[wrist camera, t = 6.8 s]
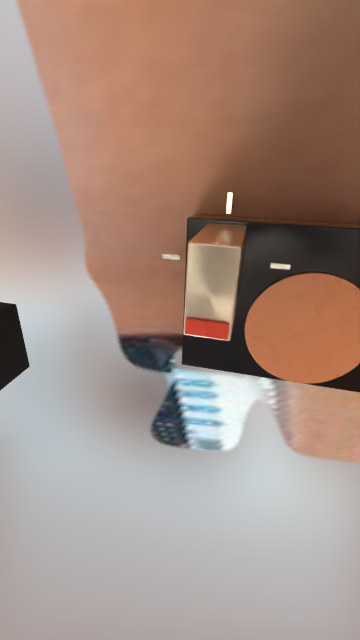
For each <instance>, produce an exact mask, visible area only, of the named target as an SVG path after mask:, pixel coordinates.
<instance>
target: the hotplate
mask: <svg viewBox="0 0 360 640" xmlns="http://www.w3.org/2000/svg"><path fill="white" fill-rule="evenodd" d="M232 198H233V193H229V192H228V195H227V206H226V214H231V209H232ZM208 223H220V224H234V225H246V226H247V232H246V240H245V248H244V255H243V263H242V271H241V279H240V286H239V294H238V300H237V306H236V311H235V317H234V323H233V328H232V334H231V339H230V341H225V340H218V339H212V338H205V337H198V336H191V335H184V333H183V346H182V364H183V365H189V366H195V367H202V368H208V369H215V370H221V371H227V372H234V373H240V374H246V375H253V376H259V377H265V378H272V379H278V380H283V379H280V378H278V377H276V376H274V375H272V374H270V373H269V372H267V371H266V370H265V369H263V368H262V367H261V366H260V365H259V364H258V363H257V362H256V361H255V359H254V358H253V357H252V355H251V353H250V351H249V349H248V346H247V343H246V339H245V322H246V318H247V314H248V312H249V309H250V307H251V306H252V304H253V302H254V301H255V300H256V298H257V297H258V296H259V295H260V294H261V293H262V292H263V291H264V290H265V289H266V288H267V287H269V286H270V285H272V284H273V283H275V282H277V281H279V280H281V279H283V278H285V277H288V276H291V275H295V274H300V273H307V272H321V273H328V274H332V275H336V276H339V277H341V278H344V279H346V280H348V281H349V282H351V283H353V284H354V285H356V286H357V287H358V288H359V289H360V224H350V223H333V222H317V221H300V220H284V219H267V218H250V217H234V216H217V215H201V214H194V215H192V216H190V217H189V218H188V220H187V245H186V271H187V251H188V242H189V241H190V240H191V239H192V238H193V237H194V236H195V235H197V234H198V233H199V232H200V231H201V230H202V229H203V228H204V227H205V226H206V225H207V224H208ZM163 258H165V259H176V260H180V255H175V254H164V253H163ZM186 271H185V291H186ZM184 311H185V296H184ZM183 331H184V321H183ZM284 381H286V380H284ZM304 384H310V385H316V386H323V387H329V388H335V389H342V390H348V391H354V392H360V363H359V364H358V365H357V366H356V367H355V368H354V369H352V370H351V371H349V372H348V373H346V374H344V375H342V376H340V377H338V378H335V379H332V380H329V381H325V382H320V383H304Z"/></svg>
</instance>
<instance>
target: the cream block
mask: <svg viewBox="0 0 360 640" xmlns="http://www.w3.org/2000/svg"><path fill="white" fill-rule="evenodd" d="M246 232H247V226H246V225H234V224H220V223H208V224H207V225H206V226H205V227H204V228H203V229H202V230H201V231H200V232H199V233H198V234H197V235H195V236H194V237H193V238H192V239H191V240H190V241H189V242H188V251H187V271H186V291H185V311H184V331H183V333H184V335H191V336H198V337H205V338H212V339H218V340H225V341H230V339H231V334H232V328H233V323H234V317H235V311H236V306H237V300H238V294H239V286H240V279H241V271H242V263H243V255H244V248H245V240H246Z"/></svg>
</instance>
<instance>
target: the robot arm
mask: <svg viewBox="0 0 360 640" xmlns="http://www.w3.org/2000/svg"><path fill="white" fill-rule="evenodd" d="M28 367H29V362H28V357H27V352H26V348H25V344H24V339H23V334H22V330H21V325H20V321H19V316H18V311H17V307H16V305H15V304H9V303H2V302H0V390H1V389H3V388H4V387H5V386H6V385H7V384H9V383H10V382H11V381H12V380H13V379H15V378H16V377H17V376H18V375H20V374H21V373H22V372H23V371H24V370H26V369H27V368H28Z"/></svg>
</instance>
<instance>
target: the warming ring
mask: <svg viewBox="0 0 360 640" xmlns="http://www.w3.org/2000/svg"><path fill="white" fill-rule="evenodd" d="M245 339H246V343H247V346H248V349H249V351H250V353H251V355H252V357H253V358H254V359H255V361H256V362H257V363H258V364H259V365H260V366H261V367H262V368H263V369H265V370H266V371H267V372H269V373H270V374H272V375H274V376H276V377H278V378H280V379H283V380H286V381H290V382H295V383H320V382H325V381H329V380H332V379H335V378H338V377H340V376H342V375H344V374H346V373H348V372H349V371H351V370H352V369H354V368H355V367H356V366H357V365H358V364H359V363H360V289H359V288H358V287H357V286H356V285H354V284H353V283H351V282H349V281H348V280H346V279H344V278H341V277H339V276H336V275H332V274H328V273H321V272H307V273H300V274H295V275H291V276H288V277H285V278H283V279H281V280H279V281H277V282H275V283H273V284H272V285H270V286H269V287H267V288H266V289H265V290H264V291H263V292H262V293H261V294H260V295H259V296H258V297H257V298H256V300H255V301H254V302H253V304H252V306H251V307H250V309H249V312H248V314H247V318H246V322H245Z"/></svg>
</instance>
